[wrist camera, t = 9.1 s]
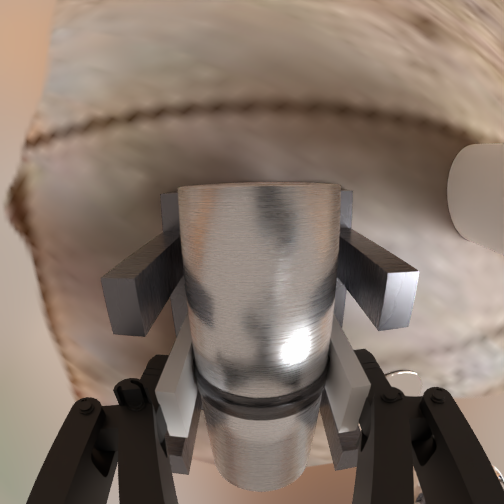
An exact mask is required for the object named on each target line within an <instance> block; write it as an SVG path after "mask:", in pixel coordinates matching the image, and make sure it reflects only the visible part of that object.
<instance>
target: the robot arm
mask: <svg viewBox="0 0 504 504" xmlns="http://www.w3.org/2000/svg"><path fill="white" fill-rule="evenodd" d="M328 355H329V357H330V361H329V368H328V374H327V380H326V385H325V389H326V392H327V395H328V399H329V402H330V405H331V409H332V412H333V415H334V419H335V422H336V425H337V429H338V432H339V433H343V432H349V431H355V430H356V429H357V426H358V423H360V426H361V429H362V430H361V433H360V435H359V438H358V440H357V443H356V446H355V447H358V445H359V448H358V460H357V470H356V479H355V487H354V494H353V502H352V504H414V476H413V466H414V469H415V472H416V475H417V477H418V480H419V483H420V486H421V489H422V492H423V496H424V499H425V502H426V504H504V489H503V487H502V485H501V483H500V481H499V479H498V477H497V475H496V473H495V471H494V469H493V467H492V465H491V463H490V461H489V459H488V457H487V456H486V453H485V452H484V450H483V448H482V446H481V444H480V442H479V441H478V439H477V437H476V435H475V434H474V432H473V430H472V429H471V427H470V425H469V423H468V422H467V420H466V418H465V417H464V415H463V413H462V412H461V410H460V409H459V407H458V405H457V404H456V402H455V401H454V399H453V397H452V396H451V394H450V393H449V392H448V391H447V390H445V389H443V388H439V387H432V388H429V389H427V390H426V391H425V392H424V395H423V396H405V395H404V393H403V392H402V391H401V390H400V389H398V388H395V387H391V385H390V383H389V382H388V380H387V378H386V376H385V375H384V373H383V371H382V370H381V368H380V366H379V365H378V363H377V362H376V360H375V358H374V356H373V355H372V354H371V353H370V352H368V351H367V350H366V349H360V350H353V349H352V347H351V345H350V343H349V341H348V339H347V337H346V336H345V334H344V332H343V330H342V328H341V326H340V324H339V323H338V321H337V319H336V317H335V315H334V313H333V322H332V330H331V338H330V346H329V353H328ZM193 359H194V351H193V344H192V337H191V330H190V323H189V315H188V313H187V315H186V317H185V319H184V322H183V324H182V326H181V329H180V331H179V333H178V336H177V338H176V341H175V343H174V345H173V348H172V350H171V352H170V355H155V356H154V357H153V358H152V359H151V360H149V362H148V364H147V366H146V369H145V370H144V373H143V375H142V377H141V379H137V378H129V379H124V380H122V381H120V382H119V383H118V384H117V385H116V386H115V387H114V390H113V391H114V393H115V396H116V398H117V401H118V403H119V405H112V406H101V404H100V402H99V401H98V400H97V399H94V398H88V397H86V398H82V399H80V400H78V401H76V402H75V404H74V405H73V406H72V408H71V410H70V412H69V414H68V415H67V418H66V419H65V421H64V423H63V425H62V427H61V429H60V431H59V433H58V435H57V437H56V439H55V441H54V443H53V445H52V447H51V449H50V451H49V453H48V455H47V457H46V459H45V461H44V464H43V466H42V468H41V470H40V472H39V474H38V477H37V479H36V481H35V483H34V486H33V488H32V491H31V493H30V495H29V498H28V500H27V503H26V504H106V503H107V499H108V495H109V492H110V488H111V484H112V481H113V477H114V474H115V470H116V467H117V462H118V479H119V500H120V504H178V501H177V496H176V491H175V486H174V481H173V476H172V470H171V465H170V459H169V452H168V446H167V441H166V439H165V434H166V431H167V429H168V432H169V435H170V436H177V437H186V438H188V433H189V429H190V424H191V419H192V415H193V410H194V406H195V401H196V397H197V392H198V387H197V383H196V377H195V372H194V366H193Z"/></svg>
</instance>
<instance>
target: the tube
mask: <svg viewBox="0 0 504 504" xmlns="http://www.w3.org/2000/svg"><path fill="white" fill-rule="evenodd" d="M178 204H179V221H180V235H181V248H182V259H183V270H184V280H185V289H186V298H187V307H188V315H189V323H190V330H191V337H192V344H193V351H194V359H193V366H194V372H195V377H196V383H197V387H198V390H199V392H200V394H201V399H202V404H203V409H204V414H205V419H206V424H207V429H208V434H209V438H210V443H211V447H212V452H213V456H214V460H215V464H216V467H217V469H218V471H219V473H220V474H221V475H222V476H223V477H224V478H225V479H226V480H227V481H228V482H230V483H231V484H233V485H235V486H237V487H239V488H242V489H246V490H250V491H258V492H262V491H272V490H276V489H280V488H283V487H285V486H287V485H289V484H291V483H292V482H293V481H295V480H296V479H297V478H298V477H299V476H300V475H301V474H302V473H303V471H304V470H305V468H306V465H307V462H308V458H309V454H310V450H311V446H312V441H313V437H314V432H315V427H316V423H317V418H318V413H319V407H320V402H321V397H322V392H323V390H324V388H325V385H326V380H327V374H328V368H329V361H330V357H329V355H328V353H329V346H330V338H331V330H332V322H333V313H334V303H335V293H336V281H337V268H338V253H339V234H340V205H341V185H337V184H326V183H304V182H245V183H221V184H205V185H193V186H184V187H178Z"/></svg>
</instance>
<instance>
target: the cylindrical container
mask: <svg viewBox="0 0 504 504" xmlns="http://www.w3.org/2000/svg"><path fill="white" fill-rule="evenodd" d="M447 201H448V208H449V213H450V216H451V220H452V222H453V224H454V226H455V228H456V230H457V231H458V232H459V234H460V235H461V236H462V237H464V238H465V239H466V240H468V241H471V242H473V243H476V244H478V245H480V246H483V247H485V248H487V249H490V250H492V251H494V252H497V253H499V254H501V255H503V256H504V143H494V144H472V145H468V146H466V147H465V148H463V149H462V150H461V151H460V152H459V153H458V154H457V156H456V157H455V159H454V161H453V163H452V166H451V169H450V172H449V177H448V184H447Z"/></svg>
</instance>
